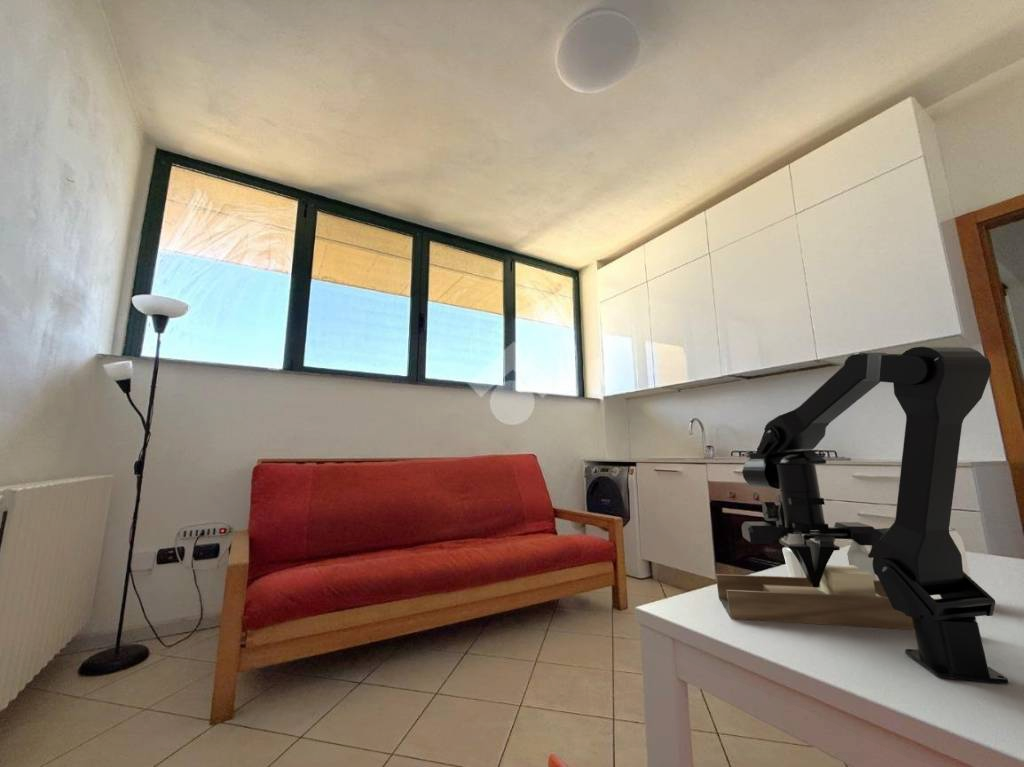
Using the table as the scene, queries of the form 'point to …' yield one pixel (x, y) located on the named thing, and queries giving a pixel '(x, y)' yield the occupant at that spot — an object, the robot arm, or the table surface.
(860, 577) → the maple block
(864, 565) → the white gable top carton
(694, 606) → the table surface
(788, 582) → the tray
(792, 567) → the white cup
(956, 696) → the table surface
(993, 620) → the table surface
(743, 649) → the table surface
